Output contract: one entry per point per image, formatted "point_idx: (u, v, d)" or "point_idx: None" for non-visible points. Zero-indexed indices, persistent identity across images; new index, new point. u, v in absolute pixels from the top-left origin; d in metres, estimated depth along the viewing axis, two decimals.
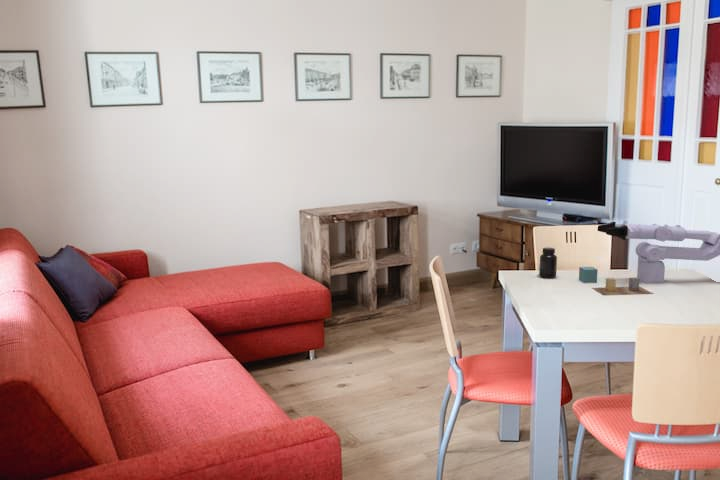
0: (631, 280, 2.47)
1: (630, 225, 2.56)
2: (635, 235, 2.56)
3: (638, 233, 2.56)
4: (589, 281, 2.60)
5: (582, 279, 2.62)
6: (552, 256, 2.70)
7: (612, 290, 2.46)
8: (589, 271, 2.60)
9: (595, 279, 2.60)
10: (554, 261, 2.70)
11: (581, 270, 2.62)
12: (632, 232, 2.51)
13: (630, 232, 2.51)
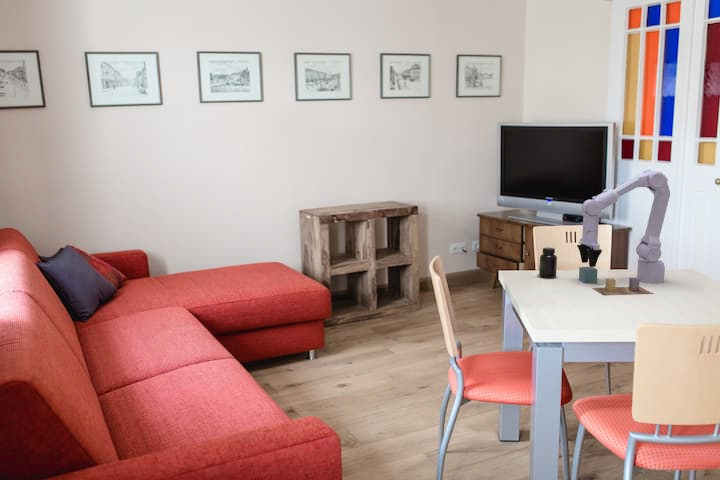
0: (631, 280, 2.47)
1: (585, 239, 2.58)
2: (595, 234, 2.57)
3: (593, 232, 2.57)
4: (589, 281, 2.60)
5: (582, 279, 2.62)
6: (552, 256, 2.70)
7: (612, 290, 2.46)
8: (589, 271, 2.60)
9: (595, 279, 2.60)
10: (554, 261, 2.70)
11: (581, 270, 2.62)
12: (595, 246, 2.53)
13: (595, 248, 2.53)
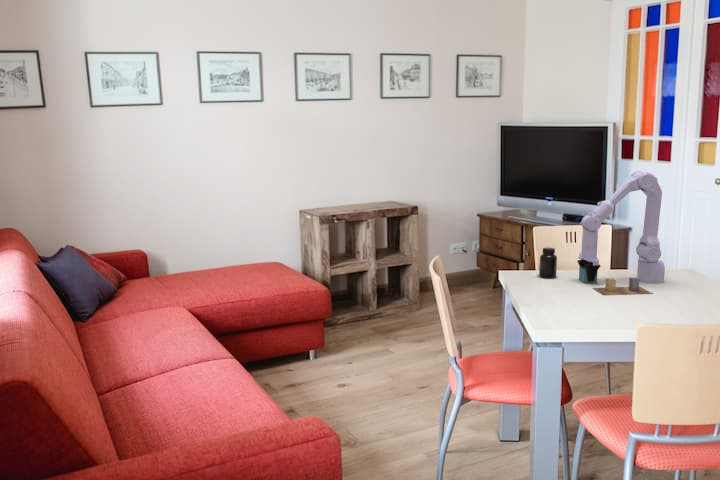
0: (631, 280, 2.47)
1: (584, 254, 2.59)
2: (595, 250, 2.58)
3: (592, 247, 2.58)
4: None
5: (582, 279, 2.62)
6: (552, 256, 2.70)
7: (612, 290, 2.46)
8: None
9: (595, 279, 2.60)
10: (554, 261, 2.70)
11: (581, 270, 2.62)
12: (594, 262, 2.54)
13: (594, 264, 2.54)
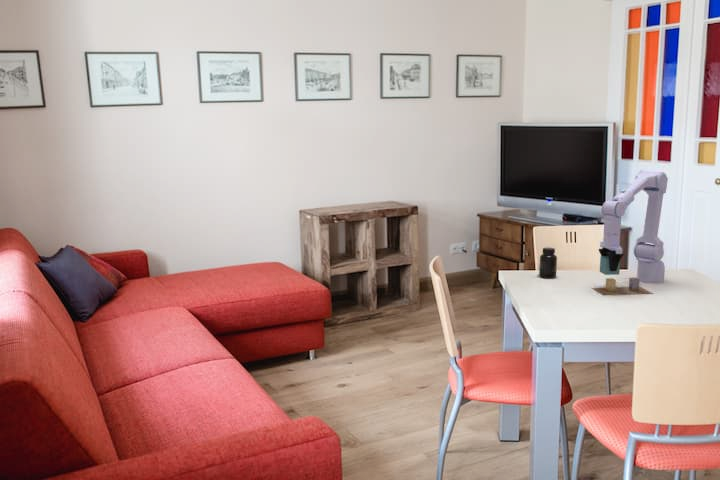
0: (631, 280, 2.47)
1: (606, 242, 2.43)
2: (617, 237, 2.42)
3: (615, 235, 2.42)
4: (611, 271, 2.44)
5: (603, 269, 2.46)
6: (552, 256, 2.70)
7: (612, 290, 2.46)
8: None
9: (617, 269, 2.44)
10: (554, 261, 2.70)
11: (602, 259, 2.46)
12: (618, 250, 2.38)
13: (618, 252, 2.38)
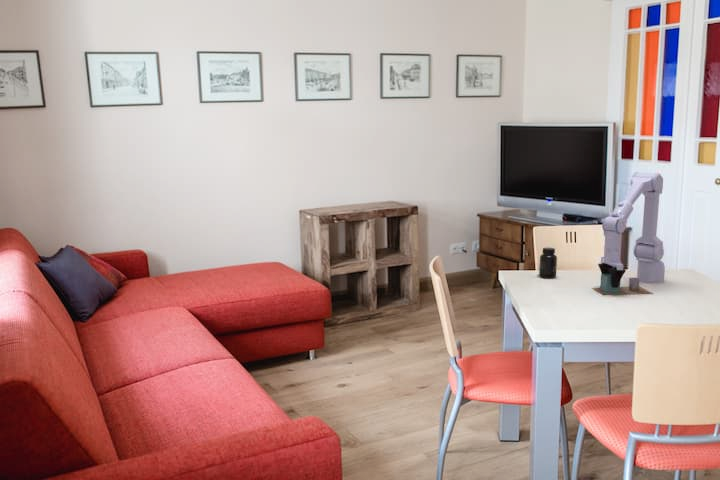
0: (631, 280, 2.47)
1: (607, 258, 2.44)
2: (618, 253, 2.42)
3: (616, 250, 2.42)
4: (612, 289, 2.44)
5: (604, 287, 2.46)
6: (552, 256, 2.70)
7: None
8: None
9: (618, 287, 2.45)
10: (554, 261, 2.70)
11: (603, 277, 2.47)
12: (619, 266, 2.38)
13: (619, 268, 2.38)
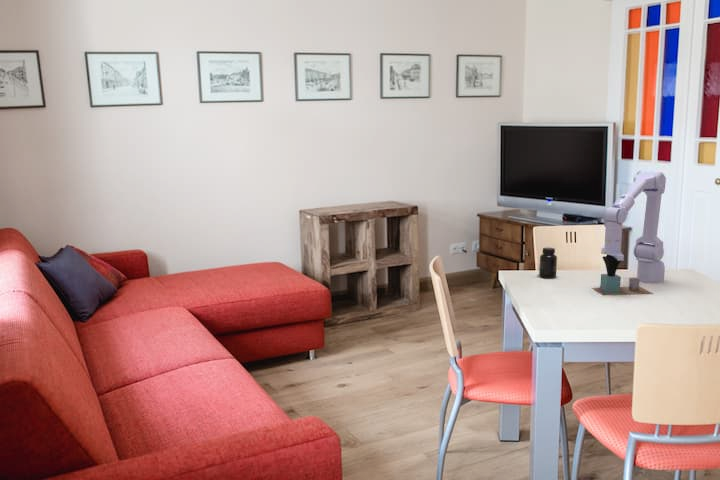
0: (631, 280, 2.47)
1: (607, 249, 2.43)
2: (619, 244, 2.42)
3: (616, 241, 2.41)
4: (612, 289, 2.44)
5: (604, 287, 2.46)
6: (552, 256, 2.70)
7: None
8: (612, 278, 2.44)
9: (618, 287, 2.45)
10: (554, 261, 2.70)
11: (603, 277, 2.47)
12: (619, 257, 2.38)
13: (619, 259, 2.38)
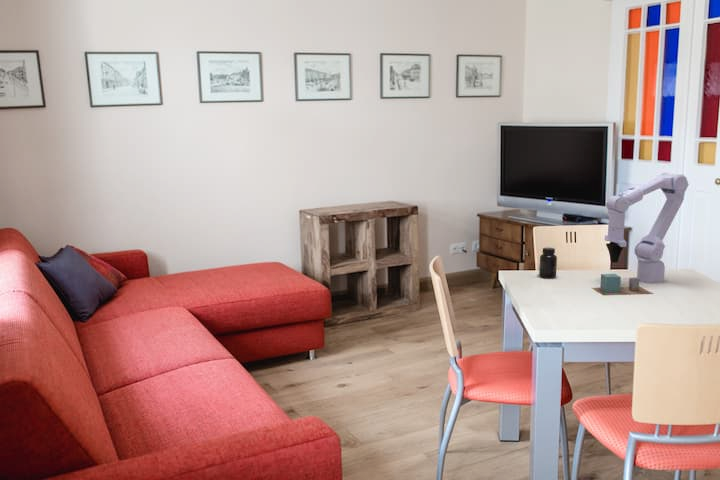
0: (631, 280, 2.47)
1: (611, 236, 2.54)
2: (622, 231, 2.52)
3: (619, 228, 2.52)
4: (612, 289, 2.44)
5: (604, 287, 2.46)
6: (552, 256, 2.70)
7: None
8: (612, 278, 2.44)
9: (618, 287, 2.45)
10: (554, 261, 2.70)
11: (603, 277, 2.47)
12: (622, 243, 2.48)
13: (622, 245, 2.48)
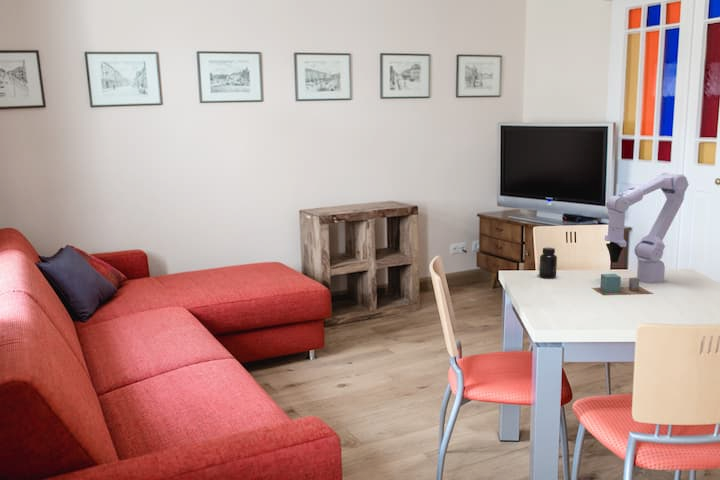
0: (631, 280, 2.47)
1: (611, 236, 2.54)
2: (622, 231, 2.52)
3: (619, 228, 2.52)
4: (612, 289, 2.44)
5: (604, 287, 2.46)
6: (552, 256, 2.70)
7: None
8: (612, 278, 2.44)
9: (618, 287, 2.45)
10: (554, 261, 2.70)
11: (603, 277, 2.47)
12: (622, 243, 2.48)
13: (622, 245, 2.48)
